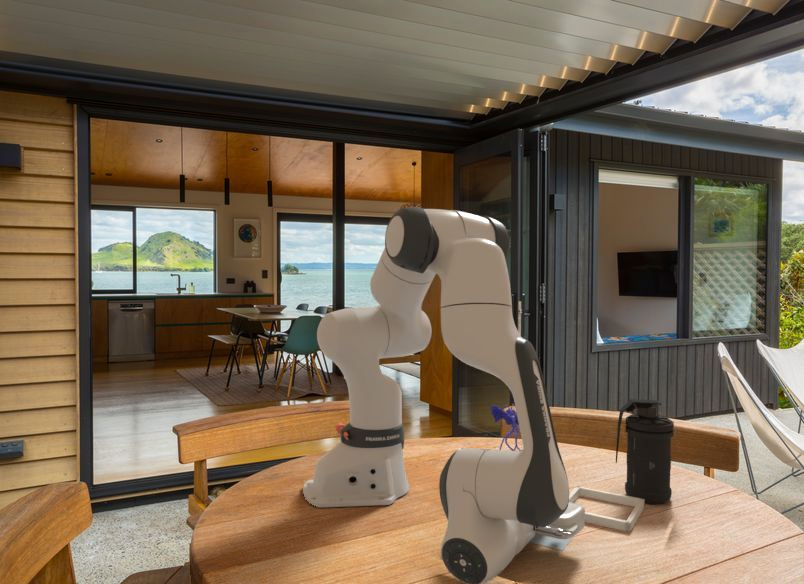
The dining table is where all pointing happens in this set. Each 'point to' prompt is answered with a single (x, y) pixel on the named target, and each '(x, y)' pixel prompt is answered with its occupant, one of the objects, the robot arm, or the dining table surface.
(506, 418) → the squid
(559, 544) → the plate
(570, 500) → the box
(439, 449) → the dining table surface
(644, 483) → the grenade
